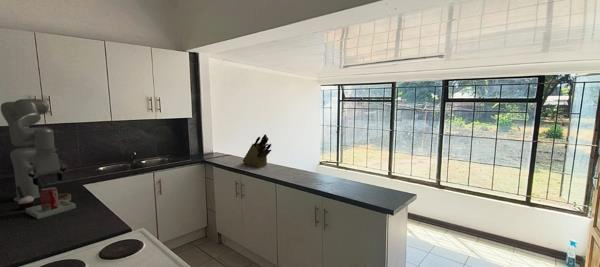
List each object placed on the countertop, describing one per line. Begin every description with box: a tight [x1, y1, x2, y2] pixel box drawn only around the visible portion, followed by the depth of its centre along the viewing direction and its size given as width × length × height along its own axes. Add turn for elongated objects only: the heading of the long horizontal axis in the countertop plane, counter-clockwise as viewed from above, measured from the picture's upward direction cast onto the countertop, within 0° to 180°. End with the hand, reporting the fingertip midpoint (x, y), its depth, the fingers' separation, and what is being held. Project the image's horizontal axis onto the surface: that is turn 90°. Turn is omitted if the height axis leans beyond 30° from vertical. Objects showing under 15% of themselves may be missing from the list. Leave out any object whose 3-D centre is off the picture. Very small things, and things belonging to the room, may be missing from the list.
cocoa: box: [15, 186, 35, 210], centre depth 150 cm, size 10×6×12 cm, turn 56°
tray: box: [25, 200, 77, 220], centre depth 146 cm, size 16×16×2 cm
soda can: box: [39, 186, 59, 211], centre depth 146 cm, size 7×7×12 cm
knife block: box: [242, 134, 272, 168], centre depth 257 cm, size 11×35×31 cm, turn 43°
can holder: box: [58, 193, 72, 202], centre depth 160 cm, size 12×12×3 cm
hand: (48, 182), depth 145 cm, fingers open, 9 cm apart
